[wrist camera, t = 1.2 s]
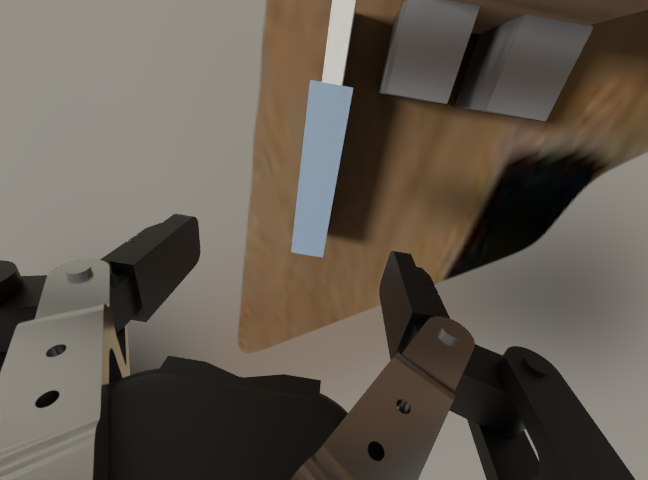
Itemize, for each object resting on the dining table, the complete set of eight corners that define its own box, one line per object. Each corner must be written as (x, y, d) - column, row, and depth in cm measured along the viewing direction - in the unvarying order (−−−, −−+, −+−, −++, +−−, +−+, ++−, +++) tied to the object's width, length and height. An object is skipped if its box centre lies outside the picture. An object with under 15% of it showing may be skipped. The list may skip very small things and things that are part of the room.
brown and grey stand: (414, -75, 18) (559, -429, 6) (569, -47, 18) (1030, -335, 6) (377, 93, 23) (413, 93, 11) (500, 114, 23) (675, 140, 11)
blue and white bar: (326, 6, 20) (320, -17, 16) (365, 13, 20) (370, -8, 16) (299, 228, 30) (290, 252, 25) (326, 233, 30) (322, 257, 25)
